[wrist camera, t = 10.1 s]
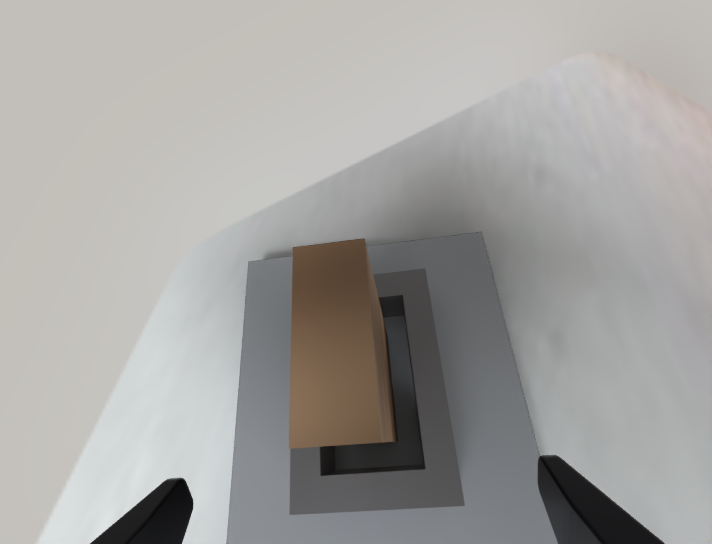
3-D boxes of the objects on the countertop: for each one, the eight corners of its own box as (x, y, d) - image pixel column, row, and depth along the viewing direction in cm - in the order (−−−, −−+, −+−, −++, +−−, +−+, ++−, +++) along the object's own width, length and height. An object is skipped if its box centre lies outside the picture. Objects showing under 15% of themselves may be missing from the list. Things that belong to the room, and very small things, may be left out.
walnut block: (398, 441, 16) (381, 442, 7) (355, 444, 17) (288, 449, 8) (387, 335, 19) (364, 238, 10) (349, 339, 19) (292, 247, 10)
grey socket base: (559, 577, 15) (615, 629, 11) (237, 587, 16) (179, 636, 12) (477, 244, 22) (492, 200, 18) (257, 272, 23) (225, 236, 19)
